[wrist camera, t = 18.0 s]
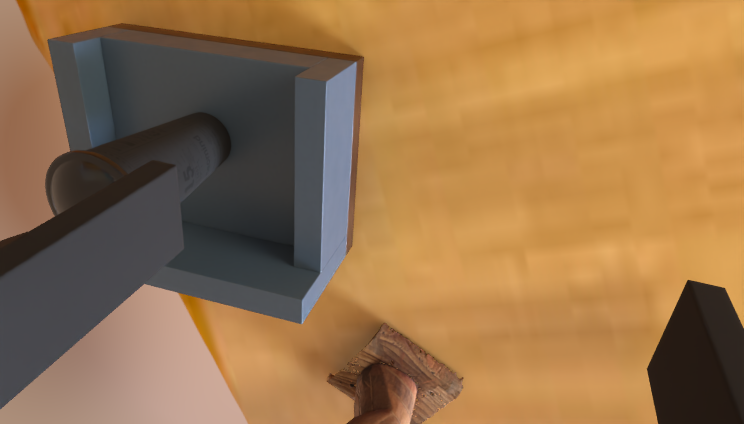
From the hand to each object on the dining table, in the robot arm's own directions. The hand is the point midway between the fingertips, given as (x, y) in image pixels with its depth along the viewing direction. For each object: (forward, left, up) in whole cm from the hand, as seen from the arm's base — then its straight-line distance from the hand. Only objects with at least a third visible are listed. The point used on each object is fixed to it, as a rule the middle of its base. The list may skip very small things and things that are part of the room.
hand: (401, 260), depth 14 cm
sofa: (+12, -23, -34) cm, 43 cm away
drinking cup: (+10, -23, -28) cm, 38 cm away
